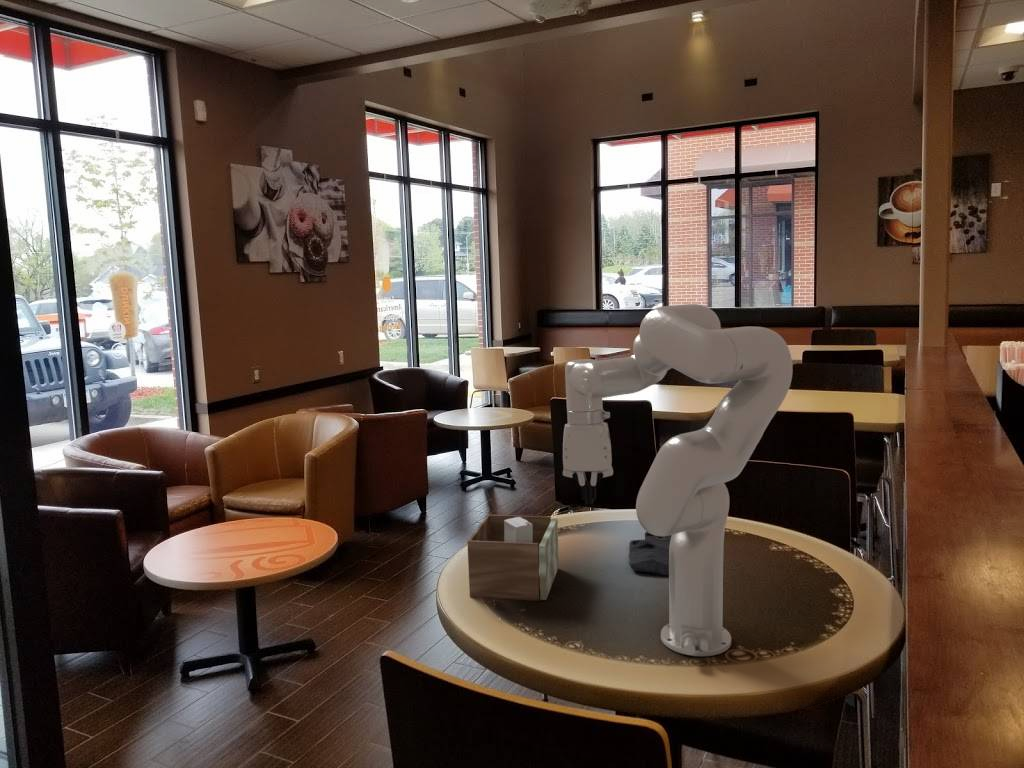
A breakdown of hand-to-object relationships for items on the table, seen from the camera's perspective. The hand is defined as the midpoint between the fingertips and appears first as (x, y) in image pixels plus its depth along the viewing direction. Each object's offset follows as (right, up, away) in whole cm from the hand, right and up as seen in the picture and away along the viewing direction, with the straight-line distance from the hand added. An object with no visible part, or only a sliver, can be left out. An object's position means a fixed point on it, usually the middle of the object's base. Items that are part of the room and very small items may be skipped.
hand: (589, 502), depth 162 cm
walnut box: (-16, -19, +7) cm, 26 cm away
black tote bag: (+18, -17, +18) cm, 31 cm away
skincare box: (-15, -17, +6) cm, 23 cm away
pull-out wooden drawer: (-15, -18, +7) cm, 25 cm away
